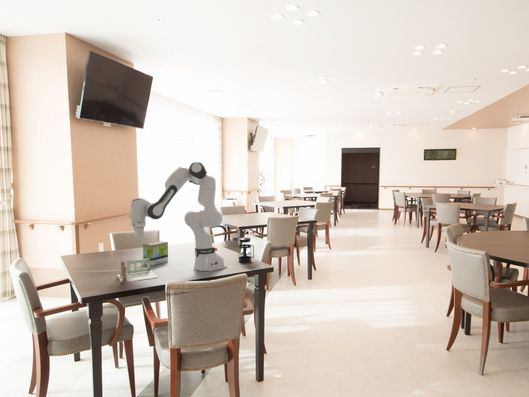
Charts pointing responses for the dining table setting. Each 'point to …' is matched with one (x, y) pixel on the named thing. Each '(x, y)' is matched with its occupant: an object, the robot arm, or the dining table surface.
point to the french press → (244, 258)
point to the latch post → (124, 275)
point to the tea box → (155, 252)
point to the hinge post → (122, 266)
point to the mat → (139, 276)
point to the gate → (136, 267)
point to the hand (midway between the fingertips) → (138, 244)
